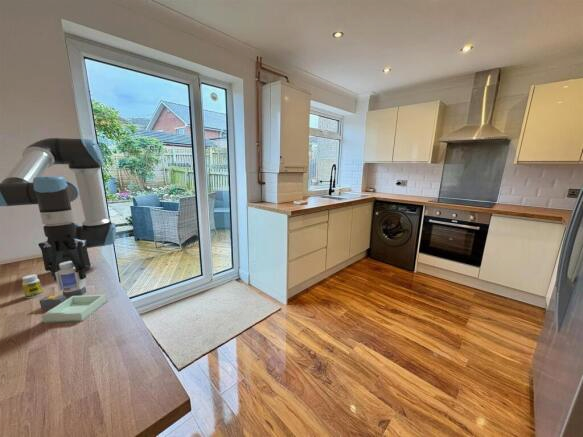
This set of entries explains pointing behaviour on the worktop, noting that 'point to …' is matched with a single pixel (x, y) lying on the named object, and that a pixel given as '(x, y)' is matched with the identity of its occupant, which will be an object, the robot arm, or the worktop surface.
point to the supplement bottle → (31, 286)
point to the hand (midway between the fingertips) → (72, 288)
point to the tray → (75, 309)
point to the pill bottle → (67, 276)
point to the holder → (58, 299)
